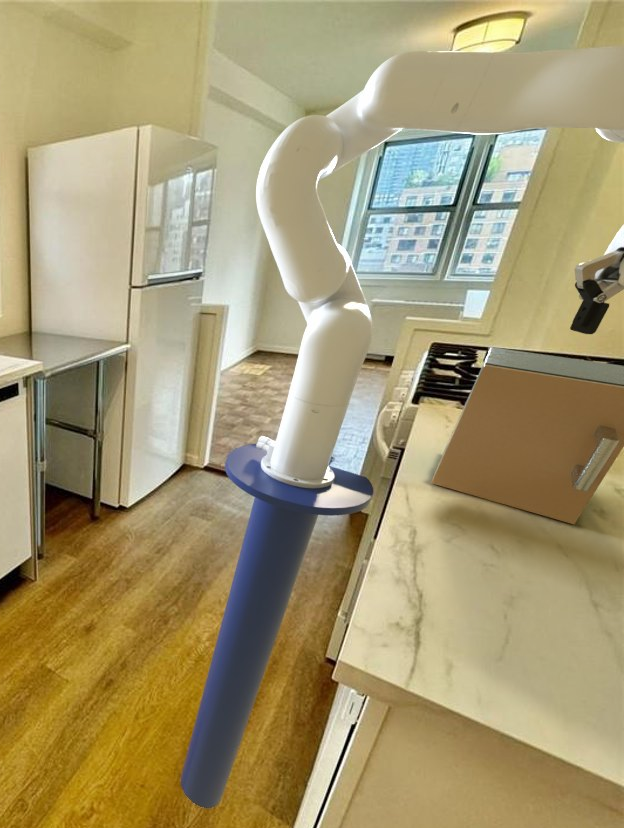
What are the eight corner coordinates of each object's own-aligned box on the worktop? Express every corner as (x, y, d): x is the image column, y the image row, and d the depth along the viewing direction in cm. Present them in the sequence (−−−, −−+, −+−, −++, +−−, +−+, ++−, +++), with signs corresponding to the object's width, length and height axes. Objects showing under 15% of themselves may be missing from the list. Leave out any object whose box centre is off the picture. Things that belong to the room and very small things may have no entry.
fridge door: (576, 542, 71) (665, 405, 61) (425, 496, 82) (480, 374, 72) (573, 522, 76) (656, 391, 66) (431, 481, 87) (484, 364, 77)
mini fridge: (573, 522, 76) (657, 389, 66) (431, 481, 87) (485, 362, 77) (569, 489, 85) (642, 368, 75) (441, 456, 96) (490, 347, 86)
